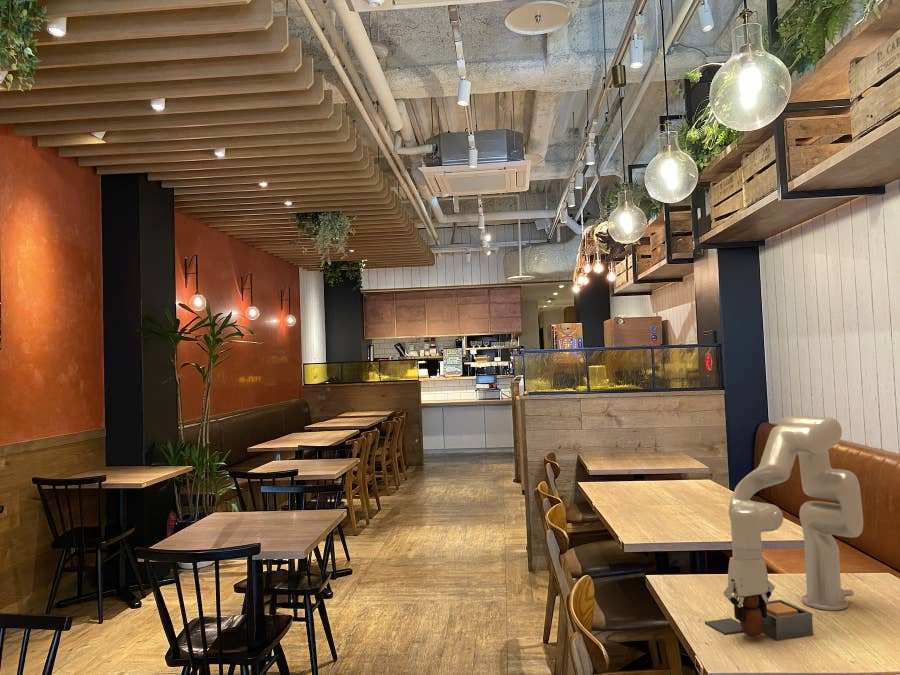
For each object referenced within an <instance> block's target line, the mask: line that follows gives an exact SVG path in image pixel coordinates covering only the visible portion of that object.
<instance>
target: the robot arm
mask: <svg viewBox="0 0 900 675" xmlns="http://www.w3.org/2000/svg"><path fill="white" fill-rule="evenodd" d="M842 434H843V429H842V426H841V424H840V422H839V421H838V420H837V419H835V418H833V417H829V416H828V417H826V416H811V415H810V416H808V415H807V416H806V415H788V416H785V417H783V418H781V420H780V422H779V424H778V425H776V426H773V428H772V429H771V430H770V433H769V435H768V438H767V441H766V444H765V447H764V450H763V453H762V455H761V460H760V463H759V465H758V466H757V467H756V468H755V469H754V470H751V472H749V473H748V474H747V475H745V477H743V478H742V479H741V480H740V481H739V482H738V484H736V486H735V488H734V490H733V493H732V496H731V499H730V502H729V506H728V517H729V520H730V530H731V531H730V532H731V533H730V534H731V548H732V550H731V551H732V556H731V557H730V556H729V563H728V570H727V581H728V582H727V587H726V588H725V590H724V591H723V595H724V597H726V598H727V599H728V601H730V603H731V604H732V605H733V611H734V619H735V620H736V621H737V620H738V622H740V621H741V622H744V621H745V618H744V607H742V606H743V605H742V604H743V600H744V597H748V596H752V595H758V598H759V606H758V608H759V609H760V610H761V613H762V616H763V618H767V606H766V603H768V601H769V599H770V598H771V596H772V593H773V592H774V591H775V589H776V586H775V585H774V584H773V583H772V582H771V581H770V580H769V575H768V569H767V565H766V564H767V563H766V561H765V558H764V557H763V552H765V547H764V546H762V534H761V533H765V532H769V533H770V532H774V531H776V530H778V529H779V528H780V527H781V526H782V524H783V522H784V514H783V511H782V510H781V509H780V508H779V506H777V505H775V504H772V503H771V504H770V503H766V502H760V501H754V500H751V498H752V497H753V496H754V495H755V494H757V492H759V491H760V490H763V489H765V488H768V487H772V486H774V485H775V486H776V485H778V484H781V483H785V481H788V480H789V479H790V477H791V475H792V474H791V473H792V470H793V467H794V463H795V461H796V457H797V456H798V460H799V461H798V462H799V470H800V471H799V472H800V480H801V481H800V482H801V487H802V491H803V494H805V495H806V496H808V497H811V498H816V499H823V500H827V501H821V500H820V501H819V500H809V501H808V500H807V501H805V502H804V503H802V505H801V506H800V509H799V520H800V525H801V529H802V534H803V540H804V541H803V542H804V544H803V545H804V560H805V562H804V564H805V579H806V580H805V581H806V582H805V583H806V594H804V595H802V596H801V602H802V603H803V604H804V605H806V606H808V607H811V608H814V609H818V610H824V611H841V610H845V608H846V609H847V608H848V606H849V605H848V602H847V600H846V599H845V598H846V597H852V596H854V594H855V592H854V591H853V589H851V588H849V589H843V588H842V583H841V580H842V579H841V565H840V548H839V545H838V542H837V541H836V539H835V537H834V536H839V537H845V538H857V537H859V536H861V534H862V533H863V529H864V514H863V503H862V493H861V487H860V483H859V482H860V481H859V479H858V478H857V476H856V475H855V473H854V472H852V471H850V470H848V469H840V468H833V467H832V466H831V462H830V455H829V454H830V453H829V450H830V449H832V448H833V447H835V446H836V445H837V444H838V443H839V442H840V440H841V438H842ZM828 500H829V501H837V502H838V503H834V502H828ZM833 535H834V536H833ZM732 594H733V595H732Z"/></svg>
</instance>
